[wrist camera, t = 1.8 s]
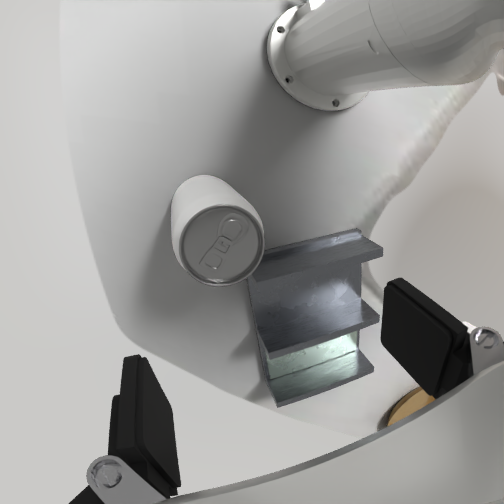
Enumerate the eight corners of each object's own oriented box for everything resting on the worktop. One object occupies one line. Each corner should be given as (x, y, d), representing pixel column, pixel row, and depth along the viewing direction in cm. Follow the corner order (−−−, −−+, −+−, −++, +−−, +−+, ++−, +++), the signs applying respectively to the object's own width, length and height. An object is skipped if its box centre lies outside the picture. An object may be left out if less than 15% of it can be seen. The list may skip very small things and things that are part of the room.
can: (247, 194, 32) (289, 228, 21) (214, 247, 33) (238, 306, 22) (192, 161, 29) (205, 178, 18) (159, 219, 30) (154, 267, 20)
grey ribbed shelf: (242, 255, 34) (255, 277, 29) (356, 228, 36) (383, 243, 31) (265, 382, 42) (277, 410, 37) (354, 351, 44) (373, 374, 39)
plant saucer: (369, 428, 56) (374, 436, 53) (411, 376, 52) (418, 384, 50) (407, 425, 61) (412, 432, 59) (444, 379, 58) (451, 385, 55)
